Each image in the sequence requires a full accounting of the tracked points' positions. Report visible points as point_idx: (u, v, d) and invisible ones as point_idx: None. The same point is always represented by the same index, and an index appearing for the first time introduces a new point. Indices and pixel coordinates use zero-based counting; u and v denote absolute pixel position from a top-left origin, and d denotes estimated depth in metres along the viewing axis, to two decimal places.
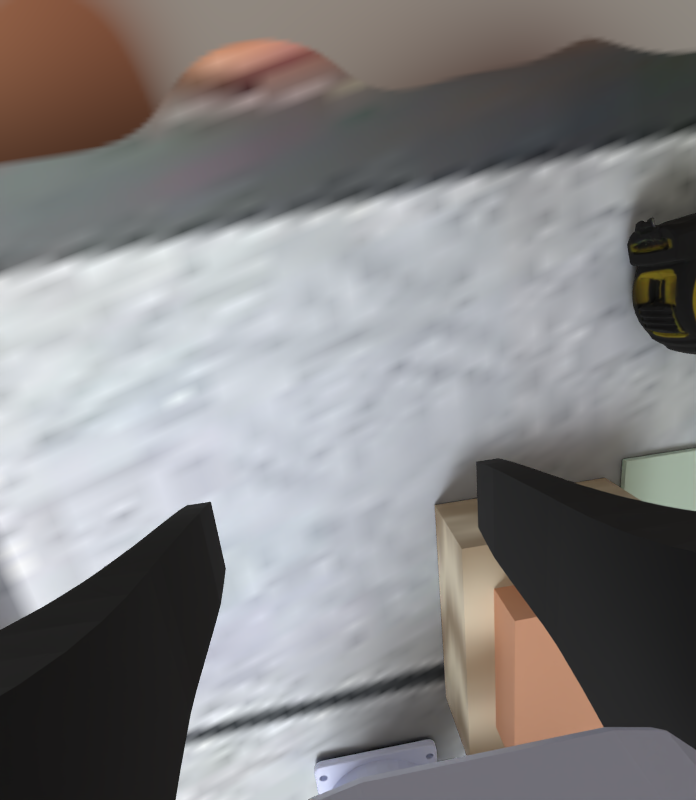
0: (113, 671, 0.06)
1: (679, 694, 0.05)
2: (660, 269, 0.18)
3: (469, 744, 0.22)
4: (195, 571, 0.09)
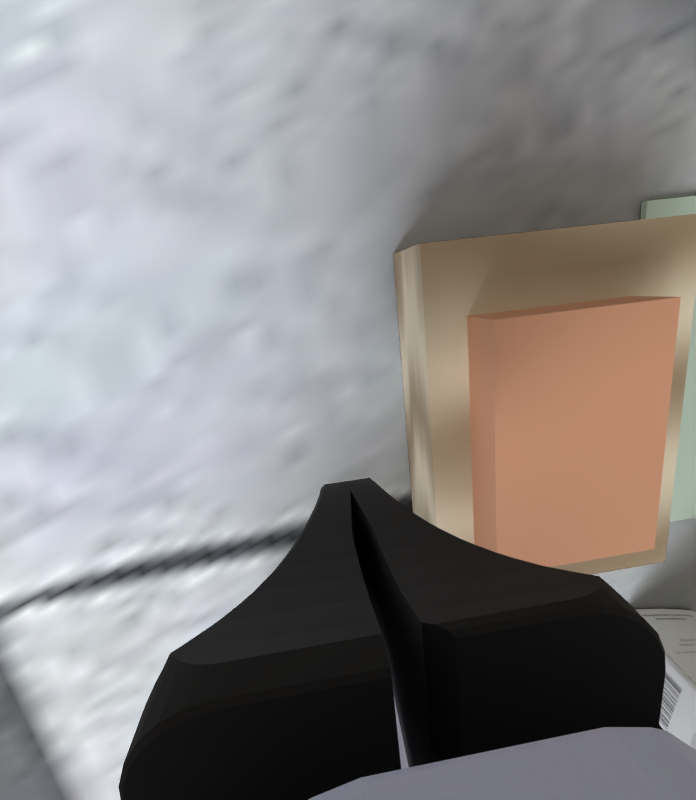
0: None
1: (420, 747, 0.05)
2: None
3: None
4: (355, 545, 0.09)
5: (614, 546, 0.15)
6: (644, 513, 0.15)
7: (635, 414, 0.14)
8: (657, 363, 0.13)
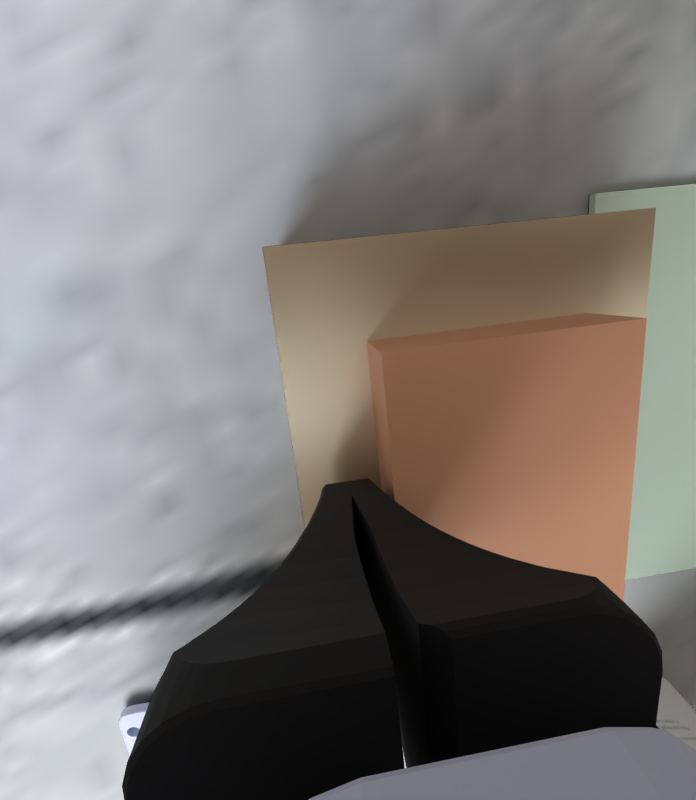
0: None
1: (418, 747, 0.05)
2: None
3: None
4: None
5: None
6: None
7: (589, 475, 0.10)
8: (617, 408, 0.10)
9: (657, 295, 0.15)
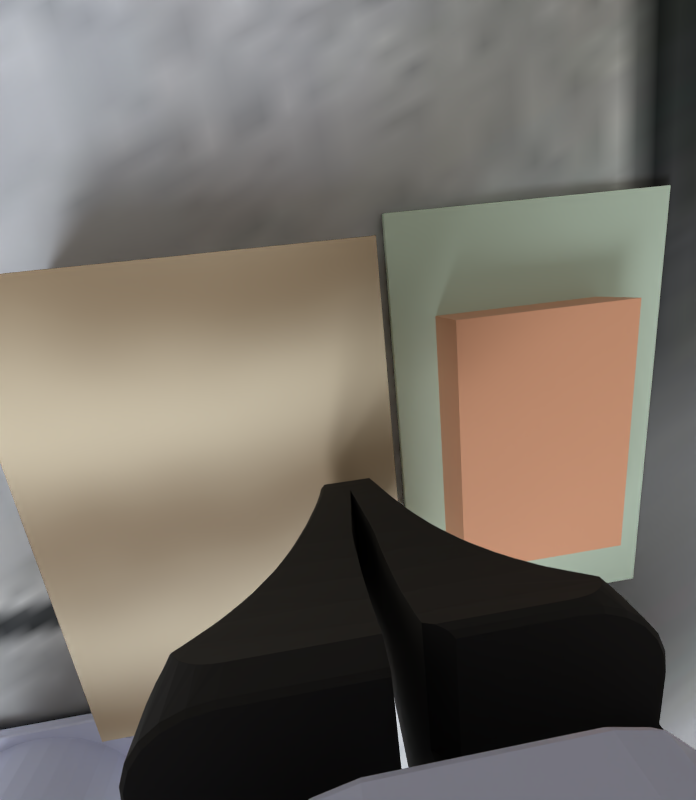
0: None
1: (420, 747, 0.05)
2: None
3: (90, 702, 0.13)
4: (355, 545, 0.09)
5: None
6: None
7: None
8: None
9: None
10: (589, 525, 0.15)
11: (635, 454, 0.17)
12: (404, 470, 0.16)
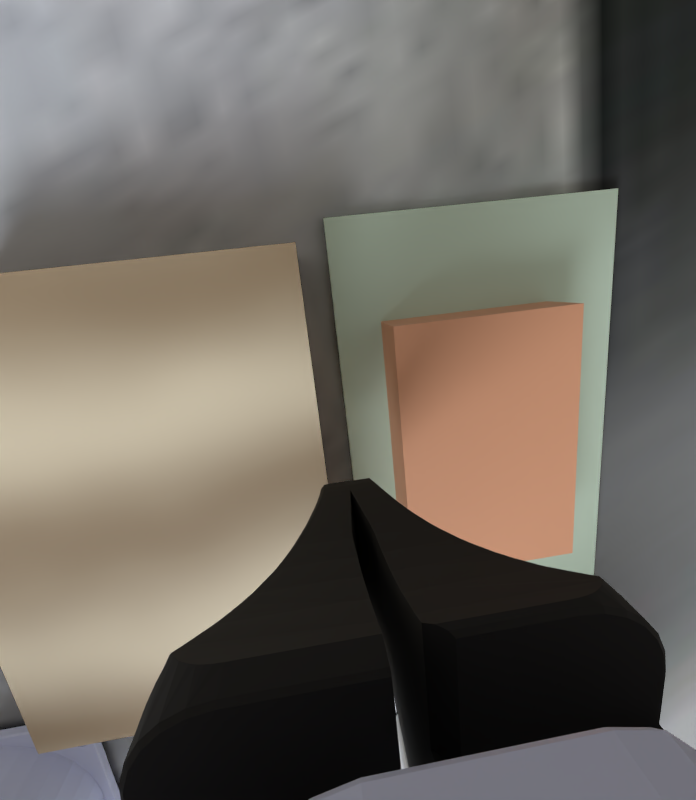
0: None
1: (420, 747, 0.05)
2: None
3: (24, 714, 0.12)
4: (355, 545, 0.09)
5: None
6: None
7: None
8: None
9: None
10: (539, 533, 0.15)
11: (591, 460, 0.17)
12: (355, 477, 0.16)
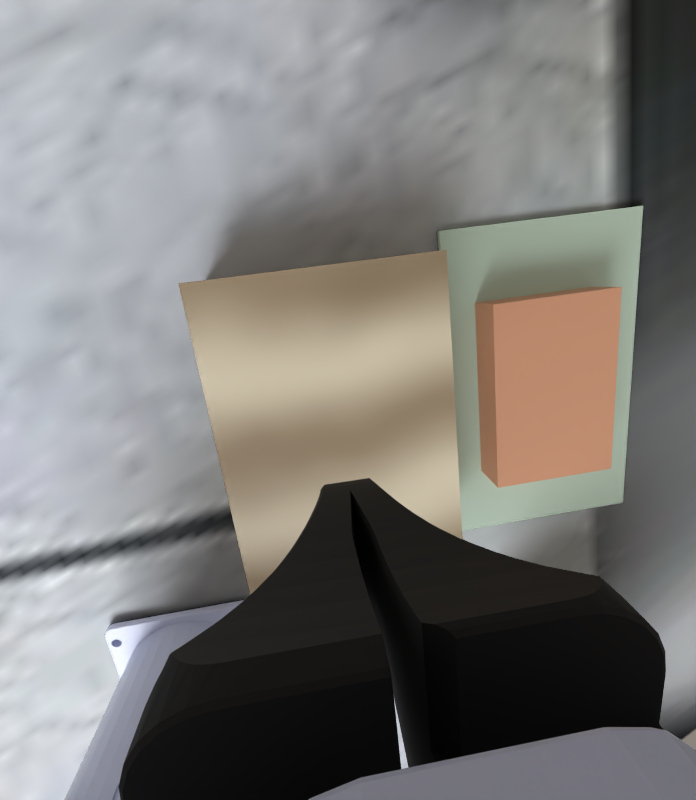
0: None
1: (420, 746, 0.05)
2: None
3: (245, 571, 0.18)
4: (355, 545, 0.09)
5: None
6: None
7: None
8: None
9: None
10: (588, 453, 0.21)
11: (622, 405, 0.22)
12: None
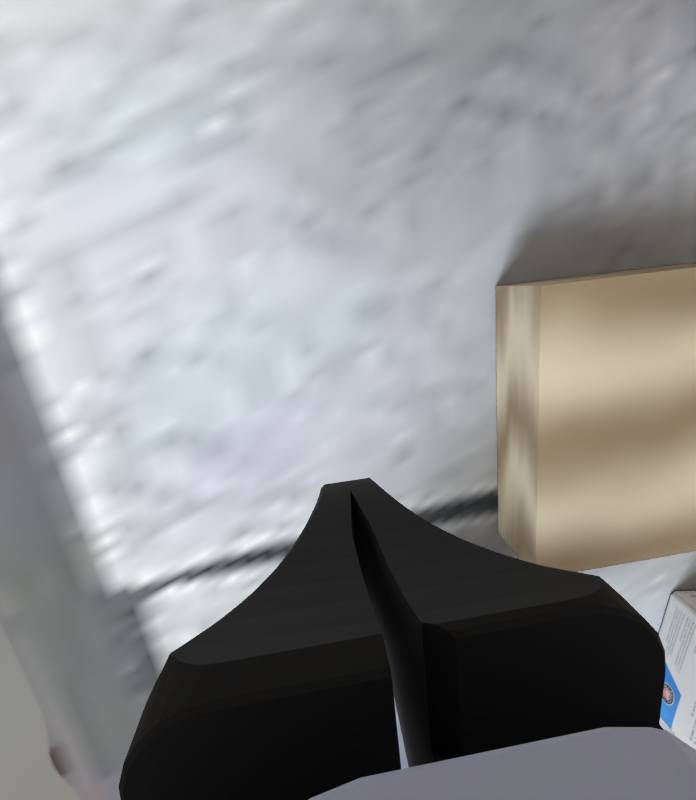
0: None
1: (421, 746, 0.05)
2: None
3: (535, 551, 0.20)
4: (355, 545, 0.09)
5: None
6: None
7: None
8: None
9: None
10: None
11: None
12: None
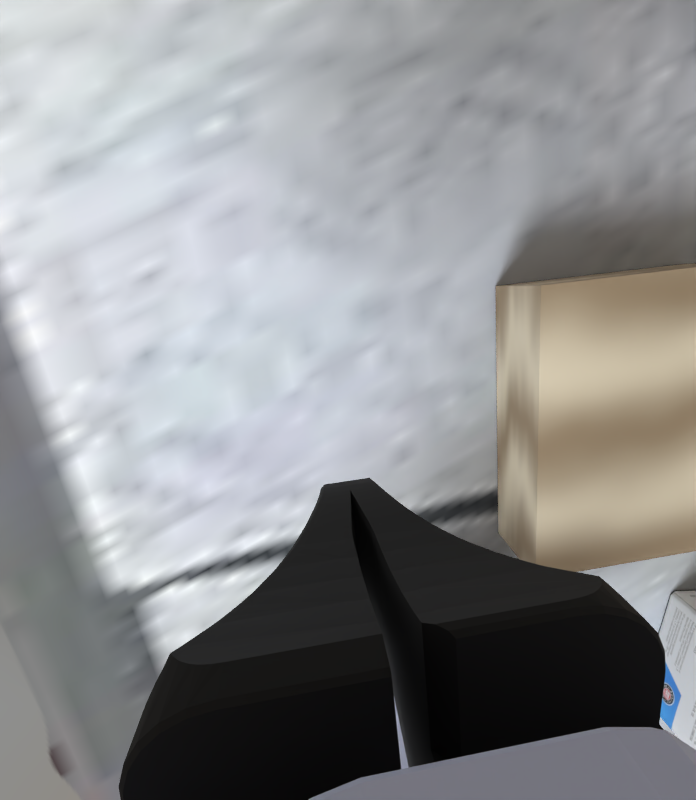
0: None
1: (421, 746, 0.05)
2: None
3: (535, 551, 0.20)
4: (355, 545, 0.09)
5: None
6: None
7: None
8: None
9: None
10: None
11: None
12: None
